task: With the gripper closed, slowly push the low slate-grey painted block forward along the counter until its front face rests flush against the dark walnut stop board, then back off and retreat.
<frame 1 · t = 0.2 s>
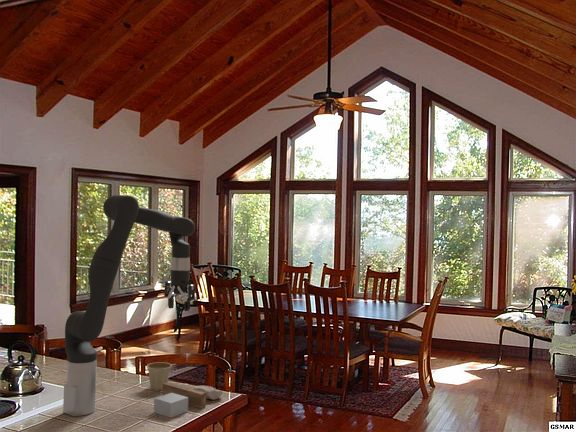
hand: (178, 309, 232), 29 cm above the kitchen counter, fingers open, 8 cm apart
flower pot: (158, 388, 224), on the kitchen counter
block: (170, 412, 198), on the kitchen counter
board: (183, 401, 208), on the kitchen counter
fossil: (206, 398, 214), on the kitchen counter
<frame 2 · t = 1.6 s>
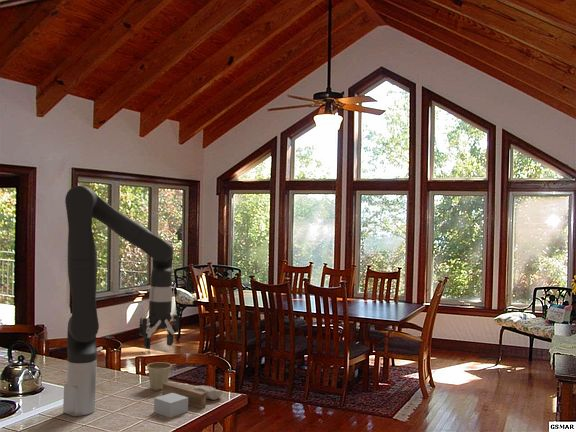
hand: (158, 346, 199), 22 cm above the kitchen counter, fingers open, 8 cm apart
nothing on the kitchen counter moved.
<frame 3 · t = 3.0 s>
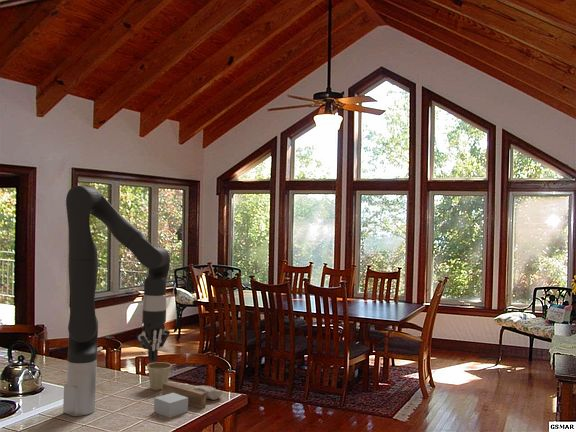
hand: (152, 361, 190), 19 cm above the kitchen counter, fingers closed
nothing on the kitchen counter moved.
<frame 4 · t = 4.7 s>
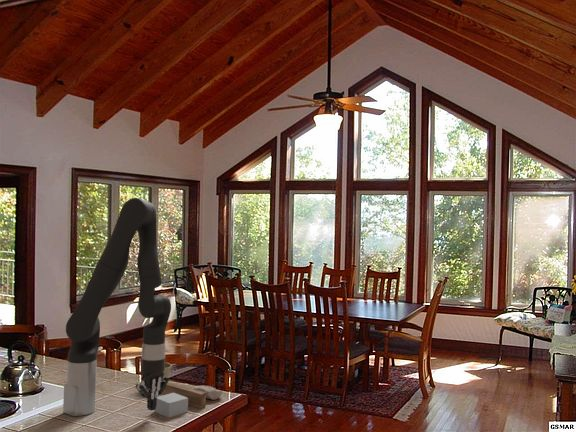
hand: (151, 409, 191), 3 cm above the kitchen counter, fingers closed
nothing on the kitchen counter moved.
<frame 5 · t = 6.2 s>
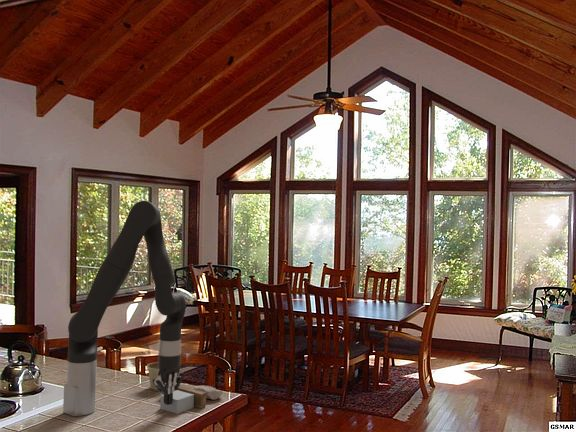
hand: (168, 403, 196), 3 cm above the kitchen counter, fingers closed
block: (176, 409, 202), on the kitchen counter
everything else where it was.
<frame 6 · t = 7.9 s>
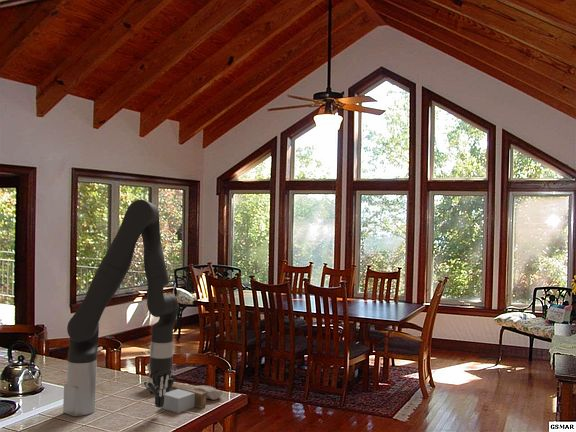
hand: (159, 406, 194), 3 cm above the kitchen counter, fingers closed
block: (178, 407, 203), on the kitchen counter, touching board
everything else where it was.
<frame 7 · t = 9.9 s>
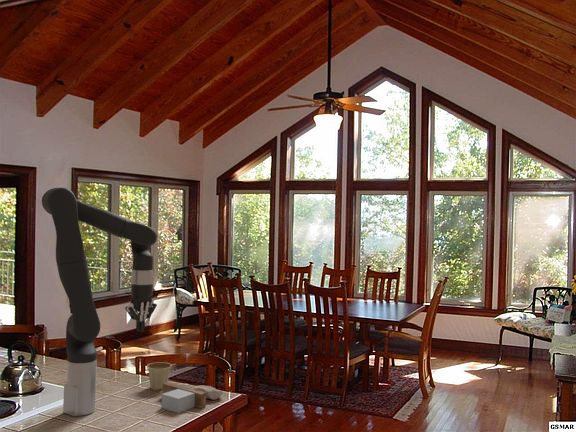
hand: (140, 331, 207), 25 cm above the kitchen counter, fingers closed
block: (178, 407, 203), on the kitchen counter
everything else where it was.
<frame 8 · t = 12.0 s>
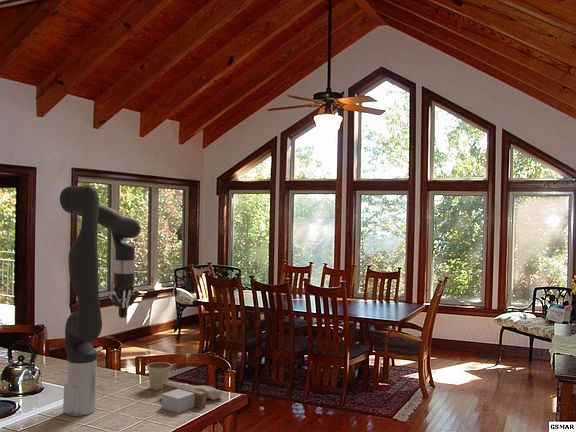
hand: (122, 317, 221), 27 cm above the kitchen counter, fingers closed
nothing on the kitchen counter moved.
at the end: block inside the target area on the kitchen counter beside the board (1.4 cm from its centre), on the kitchen counter; block tilted 0° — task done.
